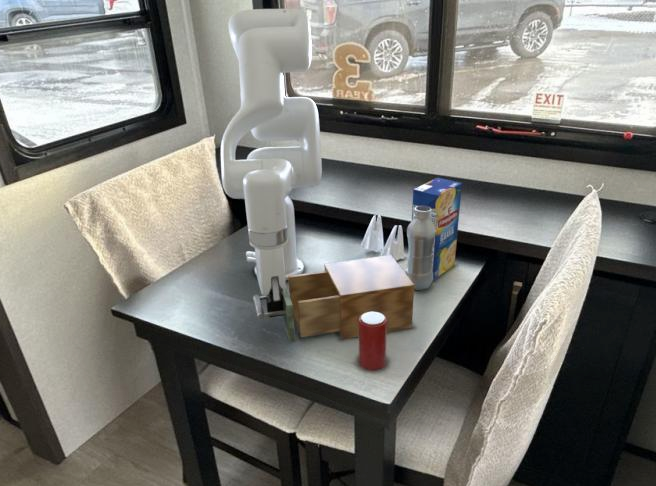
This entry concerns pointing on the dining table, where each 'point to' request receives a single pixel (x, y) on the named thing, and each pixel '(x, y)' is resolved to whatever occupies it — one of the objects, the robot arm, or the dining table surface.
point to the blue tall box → (441, 219)
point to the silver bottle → (420, 248)
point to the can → (372, 340)
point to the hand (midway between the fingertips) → (275, 314)
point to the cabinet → (372, 292)
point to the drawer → (307, 305)
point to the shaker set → (375, 240)
